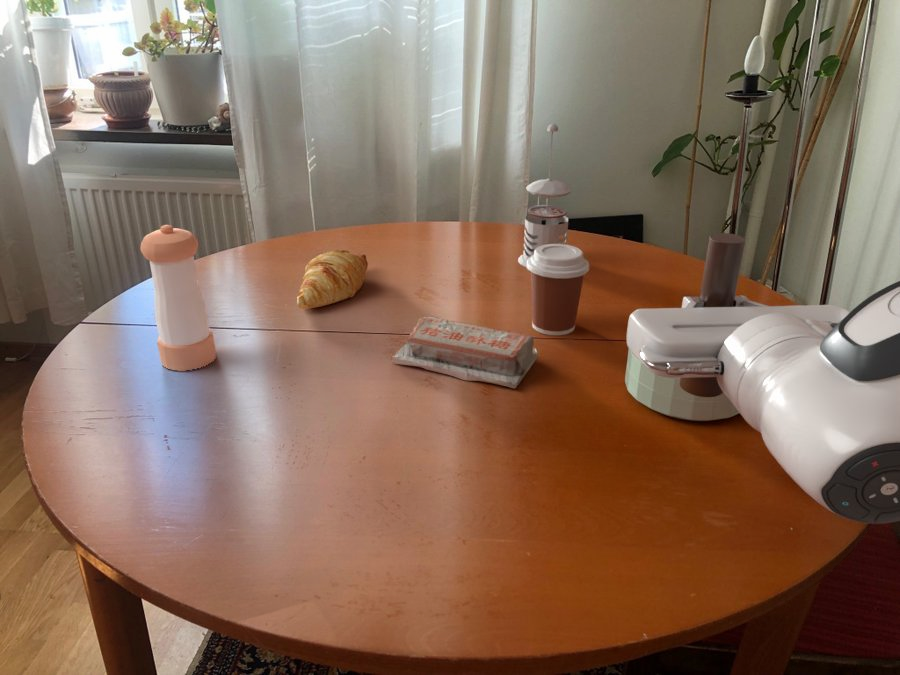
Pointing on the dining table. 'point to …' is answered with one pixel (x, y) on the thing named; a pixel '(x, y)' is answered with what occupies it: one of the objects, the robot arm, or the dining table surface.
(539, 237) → the french press
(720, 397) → the bowl
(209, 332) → the pepper shaker
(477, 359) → the packaged product
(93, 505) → the dining table surface
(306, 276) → the croissant
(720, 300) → the brown tall cylinder
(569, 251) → the coffee cup
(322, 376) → the dining table surface
